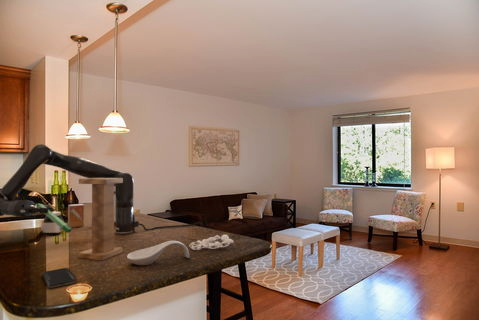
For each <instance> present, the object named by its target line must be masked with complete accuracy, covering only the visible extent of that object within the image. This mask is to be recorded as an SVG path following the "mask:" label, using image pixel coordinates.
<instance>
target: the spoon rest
mask: <svg viewBox="0 0 479 320" xmlns="http://www.w3.org/2000/svg"><path fill="white" fill-rule="evenodd" d="M171 246H179V247H181V248H182V249H183V255H184V257H185V258H186V259H190V256H191V255H190V251H189V249H188V247H187V246H186V245H185V244H184V243H183V242H181V241H178V240H167V241H164V242H162V243H159V244H156V245H153V246H150V247H149V246H148V247H146V248H142V249H137V250H133V251H132V252H129V253H128V254H127V255H126V258H127V260H128V261H129V262H130V263H131V264H134V265H137V266H149V265H151V264H153V263H154V262H155V261H156V260H157V259H158V257H159V256H160V255H162V253H163V252H164V251H165V250H166V249H168V248H169V247H171Z"/></svg>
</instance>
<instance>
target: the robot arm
mask: <svg viewBox="0 0 479 320" xmlns="http://www.w3.org/2000/svg"><path fill="white" fill-rule="evenodd" d="M41 165H46V166H52V167H55V168H60V169H62V170H64V171H67V172H69V173H72V174H73V175H76V176H79V177H82V178H83V177H84V178H123V183H115V184H114V185H115V199H116V223H115V226H114V234H117V235H127V234H128V235H129V234H133V233H135V232H136V231H135V230H136V228H139V226H141V227H142V228H143V229H144V231H153V230H157V229H166V228H184V227H192V226H196V225H200V226H203V223H202V222H198V221H197V222H195V223H189V224H179V225H177V224H175V225H162V226H154V227H152V228H146V226H145V225H144V224H143V223H140V222H139V220H136V219H135V218H136V215H135V214H134V177H133V175H132V174H131V173H129V172H126V171H121V170H116V169H112V168H109V167H107V166H105V165H103V164H101V163H98V162H95V161H93V160H89V159H87V158H84V157H79V156H73V155H68V154H65V153H61V152H58V151H57V150H54V149H52V148H50V147H49V146H48V145H47V144H36V145H35V146H33V147H32V148H31V150H30V152H29V154H28V155H27V157H26V158H25V160H24V161H23V163H22V164H21V165H20V167H18V169H17V171H15V172H14V174H13V175H12V176H11V177H10V178H9V179H8V180H7V182H6V183H5V184H4V185H3V186H2V187H1V189H0V194H1V195H2V196H3V198H1V197H0V217H3V216H4V215H5V216H13V217H18V218H19V217H20V218H30V217H32V216H33V215H37V214H44V213H48V209H49V210H50V211H51V212H54V209H53V207H52V206H50V205H48V204H43V205H44V206H45V207H46V208H41V207H38V206H37V203H35V202H34V201H33V200H28V199H27V200H25V199H16V197H17V196H18V195H19V194H20V192H21V191H22V190H23V189H24V188H25V186H26V185H27V183H28V182H29V180H30V178H31V177H32V175H33V174H34V173H35V172H36V170H37V169H39V167H41Z"/></svg>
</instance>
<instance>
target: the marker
mask: <svg viewBox="0 0 479 320" xmlns="http://www.w3.org/2000/svg"><path fill="white" fill-rule="evenodd" d="M36 204H37V206H38V207H41V208H46V207H45V206H44V205H45V204H43V203H36ZM43 214H44V215H45V217H46V216H48V217H49V218H50V219H51V220H52V221H53V222H55V223H56V224H57V225H58V226H59V227H61V228H62V229H63V231H64V232H65V233H67V234H68V233H71V231H72V230H73V227H69V226H68V223H66V222H65V221H64V220H63V221H62V220H61V219H60V218H58V217H57V216H56V215H55V214H54V213H52V212H51V211H50V210H49V209H48V213H43Z"/></svg>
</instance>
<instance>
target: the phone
mask: <svg viewBox="0 0 479 320" xmlns="http://www.w3.org/2000/svg"><path fill="white" fill-rule="evenodd" d="M42 278H43V280H44V281H45V284H46V286H47V288H49V289H54V288H55V289H56V288H59V287H63V286H69V285H73V284H76V283H77V278H76V276H75V275H74V274H73V272H72V271H71V270H70V268H69V267H62V268H58V269H57V268H56V269H51V270H47V271H43V272H42Z"/></svg>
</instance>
